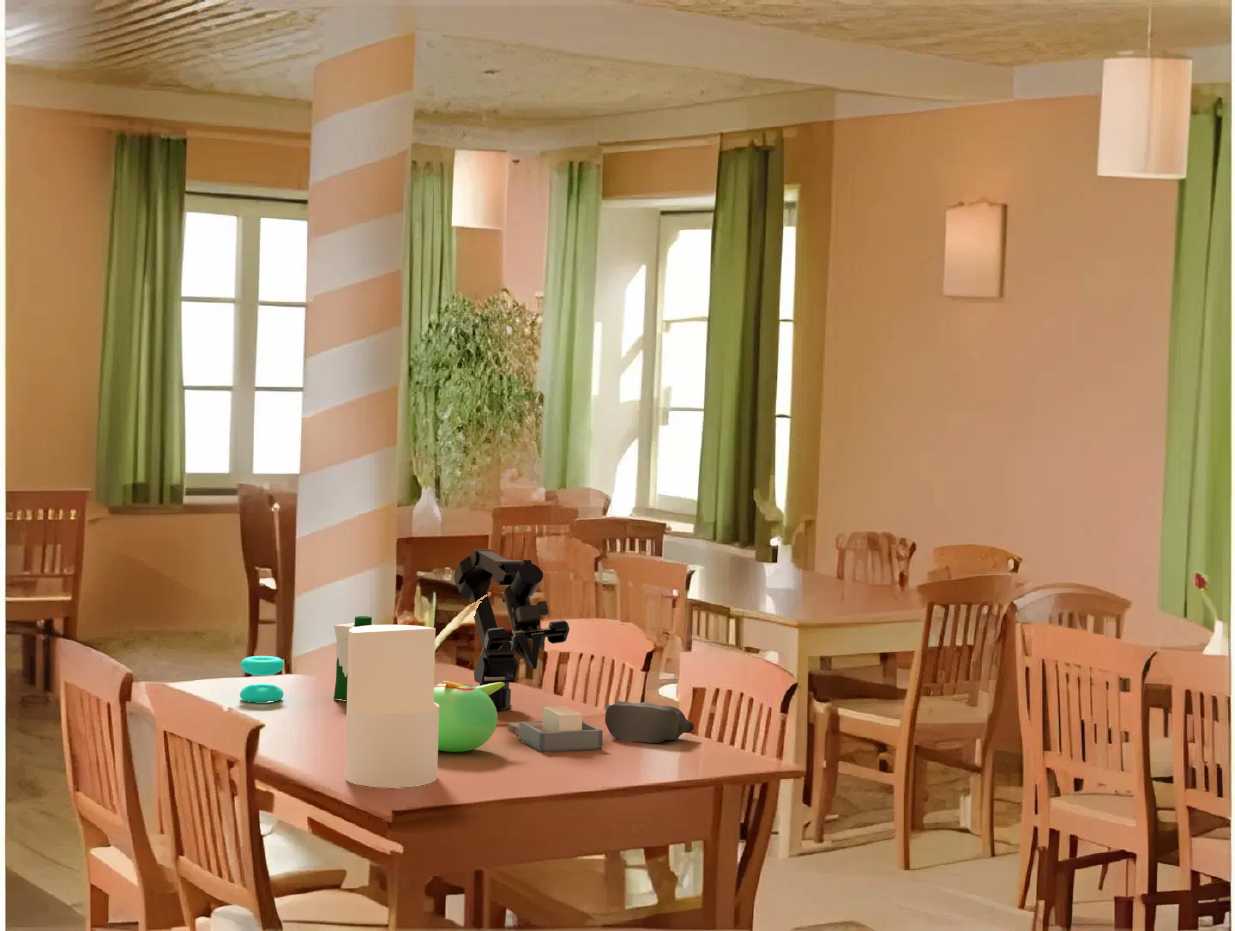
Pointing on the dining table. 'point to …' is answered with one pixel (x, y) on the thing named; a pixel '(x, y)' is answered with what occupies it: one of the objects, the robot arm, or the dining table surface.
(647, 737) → the dark grey bottle
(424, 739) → the cylinder
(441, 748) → the green rounded body
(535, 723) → the board
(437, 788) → the dining table surface
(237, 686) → the dining table surface
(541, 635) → the robot arm
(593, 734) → the tray
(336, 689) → the milk carton
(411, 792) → the dining table surface
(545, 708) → the cream rectangular block
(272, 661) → the donuts
